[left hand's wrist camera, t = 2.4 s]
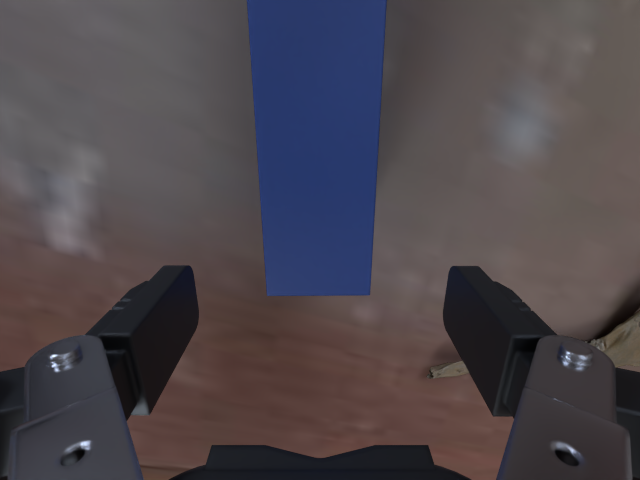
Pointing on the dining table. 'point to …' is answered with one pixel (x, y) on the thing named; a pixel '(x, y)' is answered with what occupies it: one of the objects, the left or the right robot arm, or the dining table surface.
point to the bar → (317, 140)
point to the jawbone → (619, 345)
